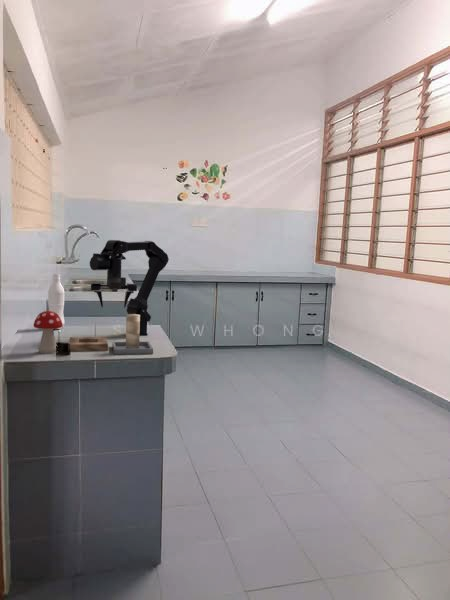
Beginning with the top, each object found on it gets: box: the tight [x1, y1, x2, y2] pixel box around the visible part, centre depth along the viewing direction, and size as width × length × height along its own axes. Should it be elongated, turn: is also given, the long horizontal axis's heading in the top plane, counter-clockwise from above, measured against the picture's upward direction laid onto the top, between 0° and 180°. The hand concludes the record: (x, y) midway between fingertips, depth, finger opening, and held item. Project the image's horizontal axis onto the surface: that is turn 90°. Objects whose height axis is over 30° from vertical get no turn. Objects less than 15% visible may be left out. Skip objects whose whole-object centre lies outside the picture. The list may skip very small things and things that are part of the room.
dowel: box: [125, 313, 140, 349], centre depth 188 cm, size 5×5×13 cm
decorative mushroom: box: [33, 310, 63, 355], centre depth 179 cm, size 10×9×15 cm
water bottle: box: [47, 273, 66, 330], centre depth 225 cm, size 7×7×25 cm
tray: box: [111, 341, 154, 356], centre depth 189 cm, size 14×14×2 cm
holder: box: [68, 336, 109, 352], centre depth 191 cm, size 14×14×2 cm
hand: (113, 307), depth 209 cm, fingers open, 9 cm apart
